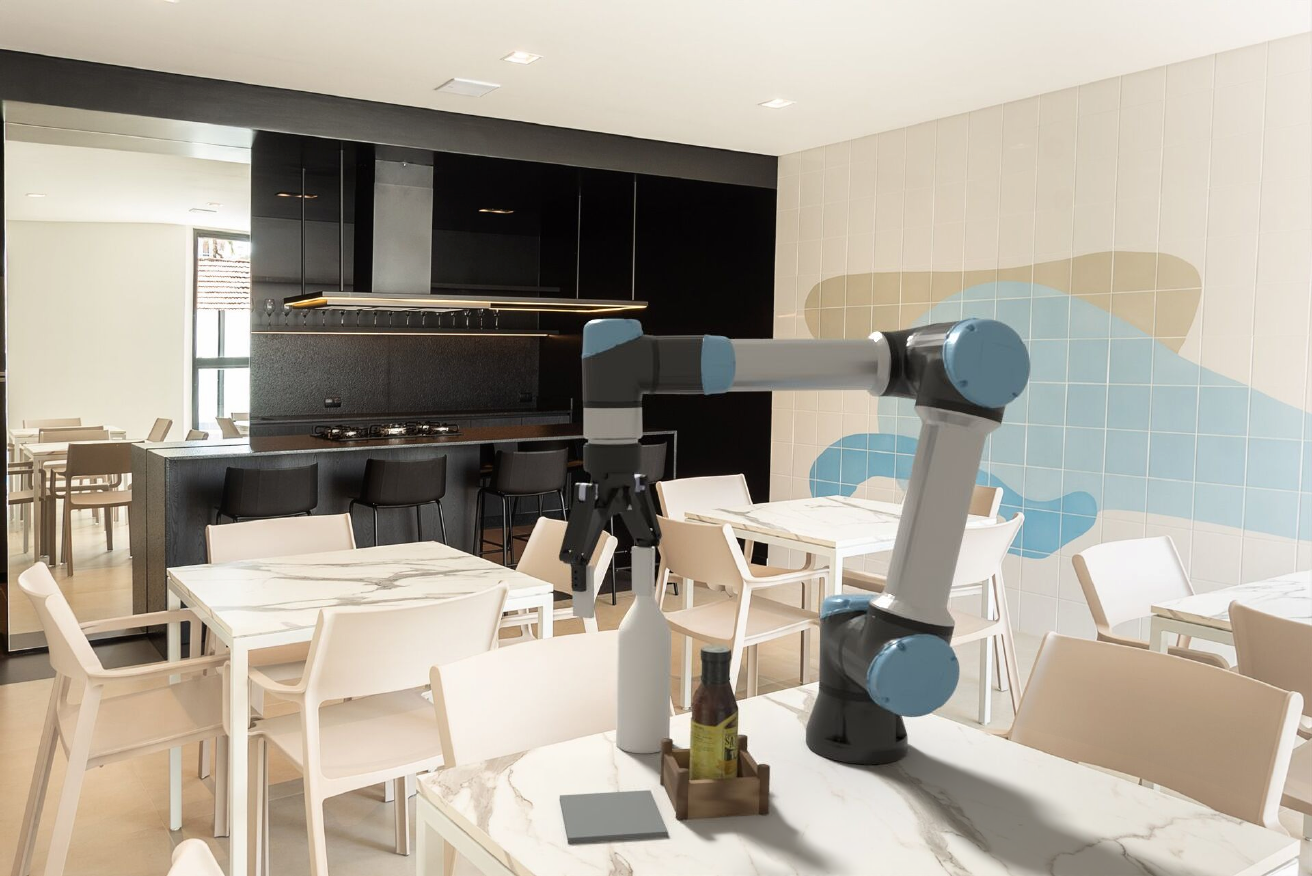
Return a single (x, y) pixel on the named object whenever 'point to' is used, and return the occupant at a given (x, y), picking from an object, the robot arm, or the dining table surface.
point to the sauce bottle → (714, 719)
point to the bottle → (643, 676)
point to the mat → (611, 816)
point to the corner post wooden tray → (714, 785)
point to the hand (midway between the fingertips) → (614, 605)
